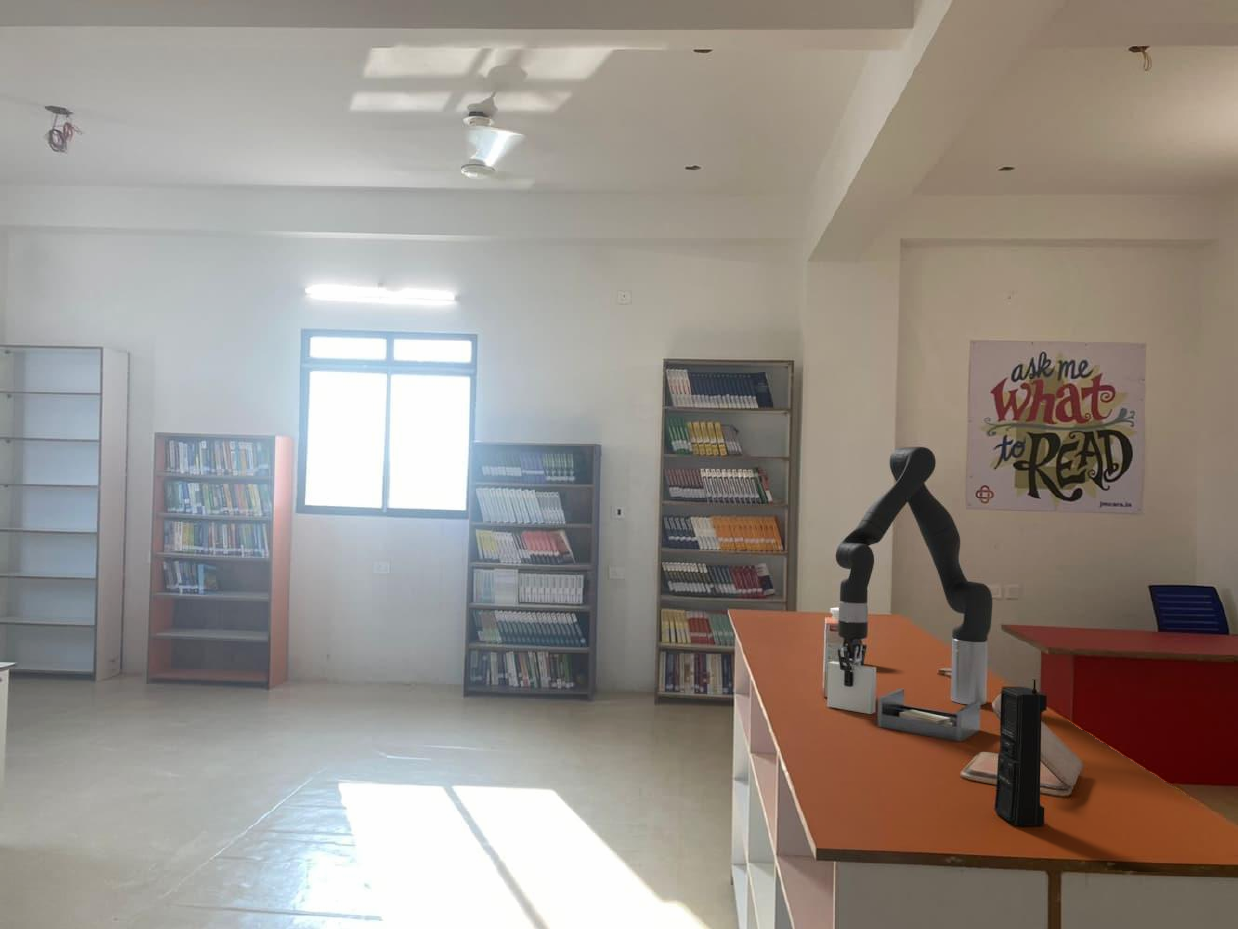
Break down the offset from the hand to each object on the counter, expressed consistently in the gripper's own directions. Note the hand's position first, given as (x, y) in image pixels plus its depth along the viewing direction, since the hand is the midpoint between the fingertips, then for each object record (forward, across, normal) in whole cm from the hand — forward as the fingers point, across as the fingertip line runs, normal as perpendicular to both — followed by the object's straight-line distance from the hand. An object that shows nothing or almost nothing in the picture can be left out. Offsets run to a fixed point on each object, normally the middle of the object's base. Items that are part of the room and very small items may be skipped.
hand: (851, 684), depth 246 cm
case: (+7, +31, +50) cm, 59 cm away
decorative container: (+7, -66, -30) cm, 73 cm away
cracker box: (+7, -16, -12) cm, 21 cm away
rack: (+7, +4, +22) cm, 23 cm away
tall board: (+6, 0, 0) cm, 6 cm away
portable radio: (+7, +59, +56) cm, 82 cm away
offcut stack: (+7, +7, +22) cm, 24 cm away
